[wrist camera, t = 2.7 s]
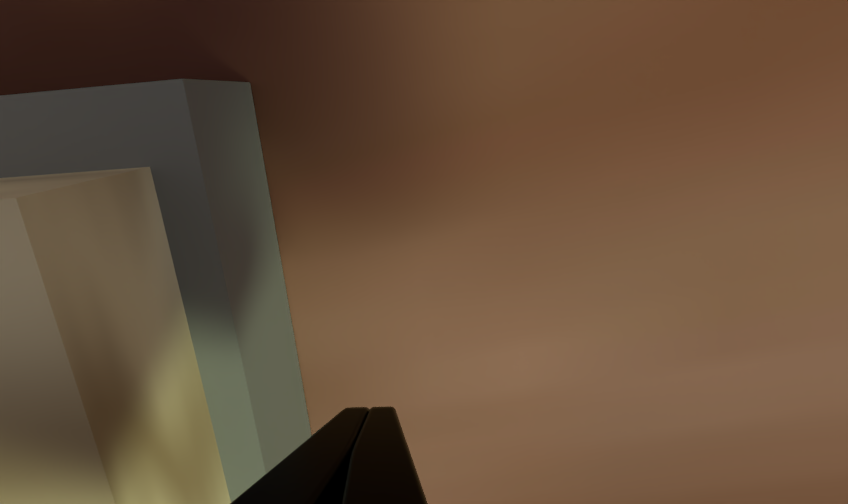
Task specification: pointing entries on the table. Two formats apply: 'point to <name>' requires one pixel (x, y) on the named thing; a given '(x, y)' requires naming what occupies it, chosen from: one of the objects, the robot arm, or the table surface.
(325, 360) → the table surface
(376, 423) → the robot arm
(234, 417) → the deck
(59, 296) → the birch block
